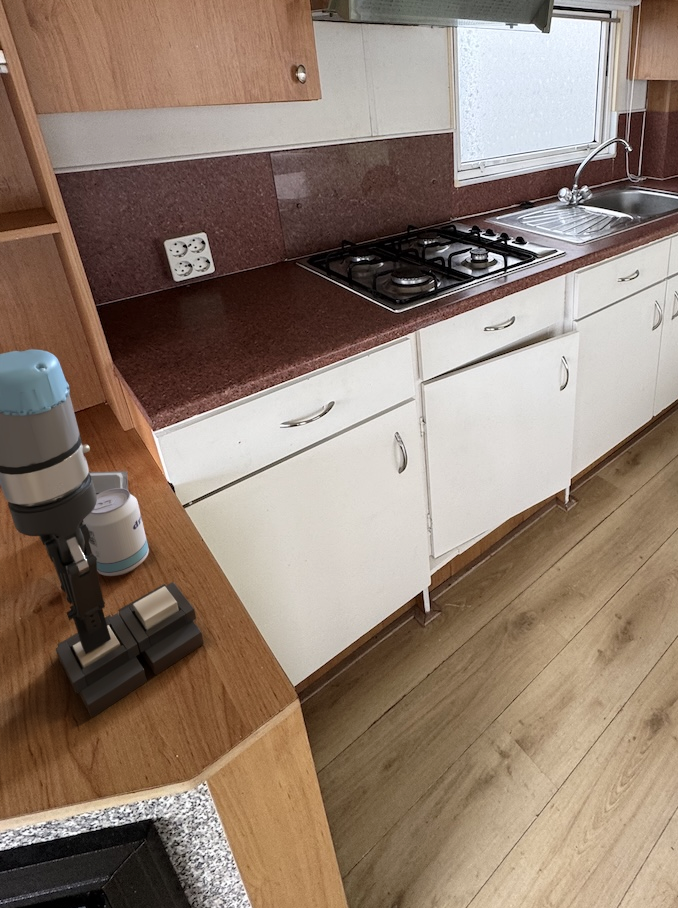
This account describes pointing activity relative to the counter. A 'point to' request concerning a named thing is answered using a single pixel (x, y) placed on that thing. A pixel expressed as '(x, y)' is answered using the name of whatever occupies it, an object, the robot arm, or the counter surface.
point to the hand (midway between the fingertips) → (96, 642)
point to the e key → (155, 607)
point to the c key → (95, 650)
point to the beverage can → (116, 532)
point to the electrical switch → (109, 481)
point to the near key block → (104, 669)
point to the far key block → (165, 632)
